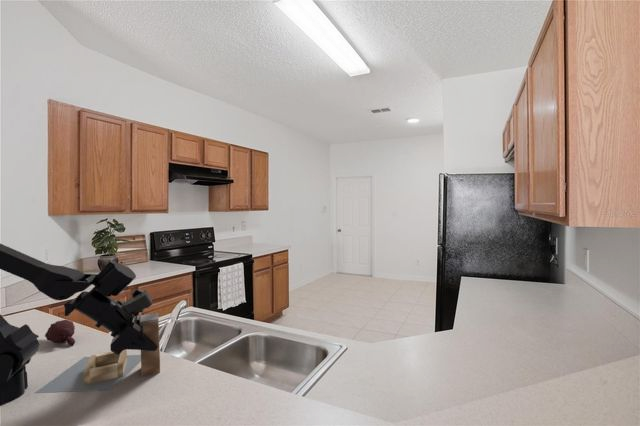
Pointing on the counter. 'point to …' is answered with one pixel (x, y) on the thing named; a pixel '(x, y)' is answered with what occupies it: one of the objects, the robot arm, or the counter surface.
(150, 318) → the post
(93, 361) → the socket
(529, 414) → the counter surface
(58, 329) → the maroon bulbous piece
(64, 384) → the board
